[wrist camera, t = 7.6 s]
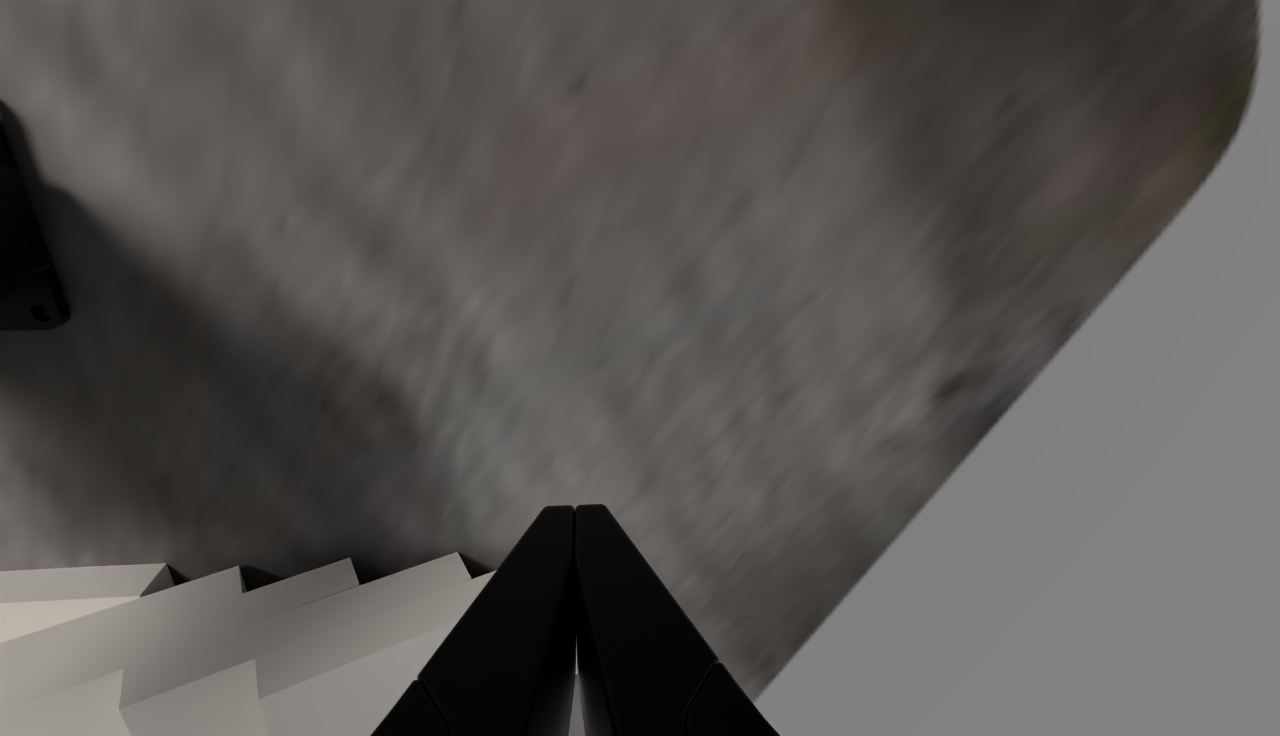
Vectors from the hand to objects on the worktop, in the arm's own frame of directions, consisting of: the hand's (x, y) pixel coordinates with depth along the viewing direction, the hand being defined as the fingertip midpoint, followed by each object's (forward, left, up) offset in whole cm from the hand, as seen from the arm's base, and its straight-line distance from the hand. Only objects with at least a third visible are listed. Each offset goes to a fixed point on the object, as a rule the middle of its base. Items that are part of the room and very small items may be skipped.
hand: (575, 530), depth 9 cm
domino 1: (-1, -13, -11) cm, 17 cm away
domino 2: (-4, -13, -11) cm, 18 cm away
